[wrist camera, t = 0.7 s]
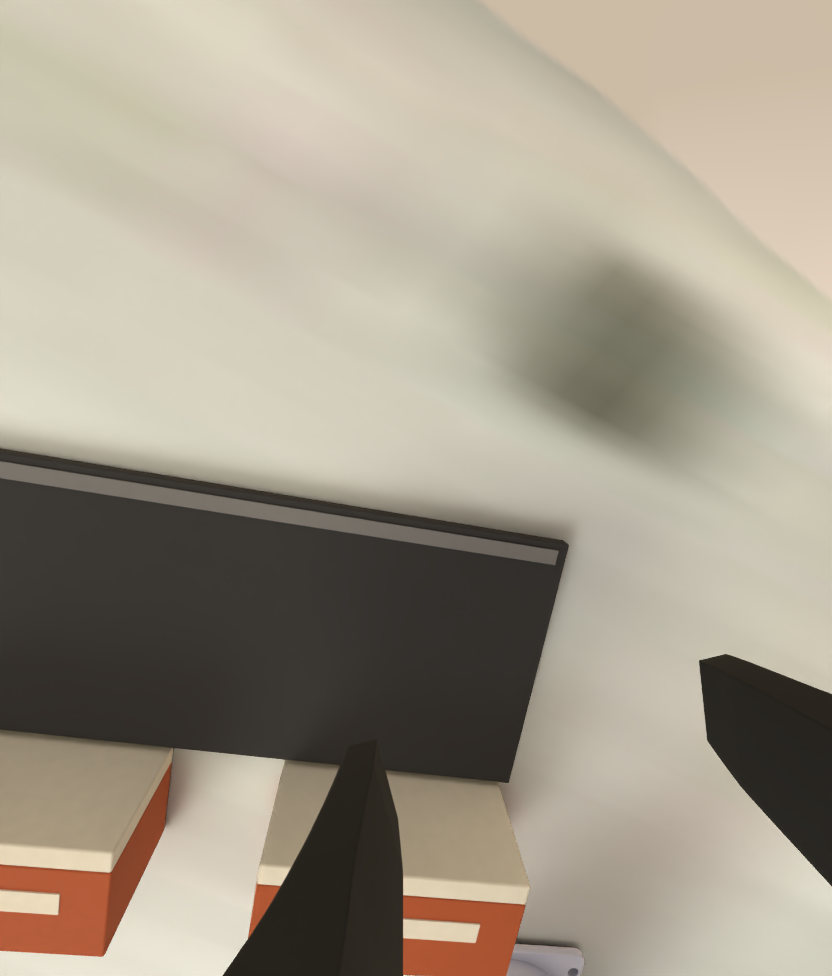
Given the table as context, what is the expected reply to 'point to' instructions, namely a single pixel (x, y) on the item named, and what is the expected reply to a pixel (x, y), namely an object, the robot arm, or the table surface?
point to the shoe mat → (263, 621)
